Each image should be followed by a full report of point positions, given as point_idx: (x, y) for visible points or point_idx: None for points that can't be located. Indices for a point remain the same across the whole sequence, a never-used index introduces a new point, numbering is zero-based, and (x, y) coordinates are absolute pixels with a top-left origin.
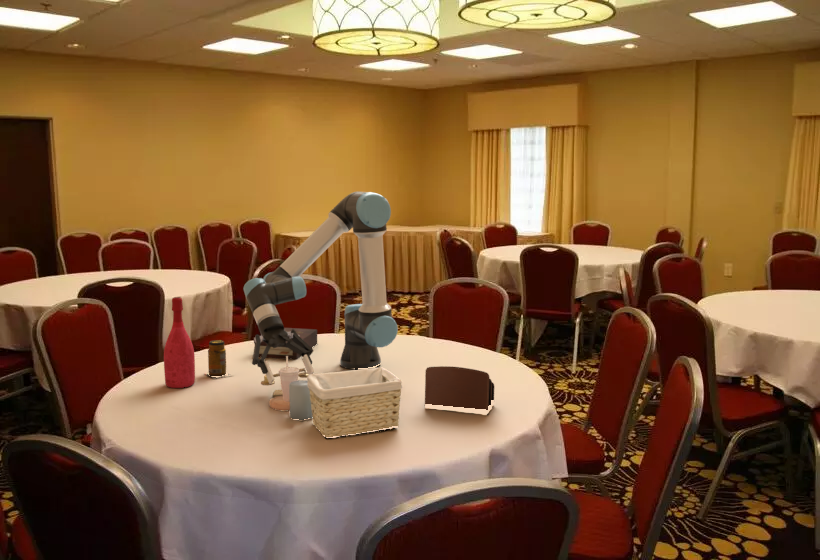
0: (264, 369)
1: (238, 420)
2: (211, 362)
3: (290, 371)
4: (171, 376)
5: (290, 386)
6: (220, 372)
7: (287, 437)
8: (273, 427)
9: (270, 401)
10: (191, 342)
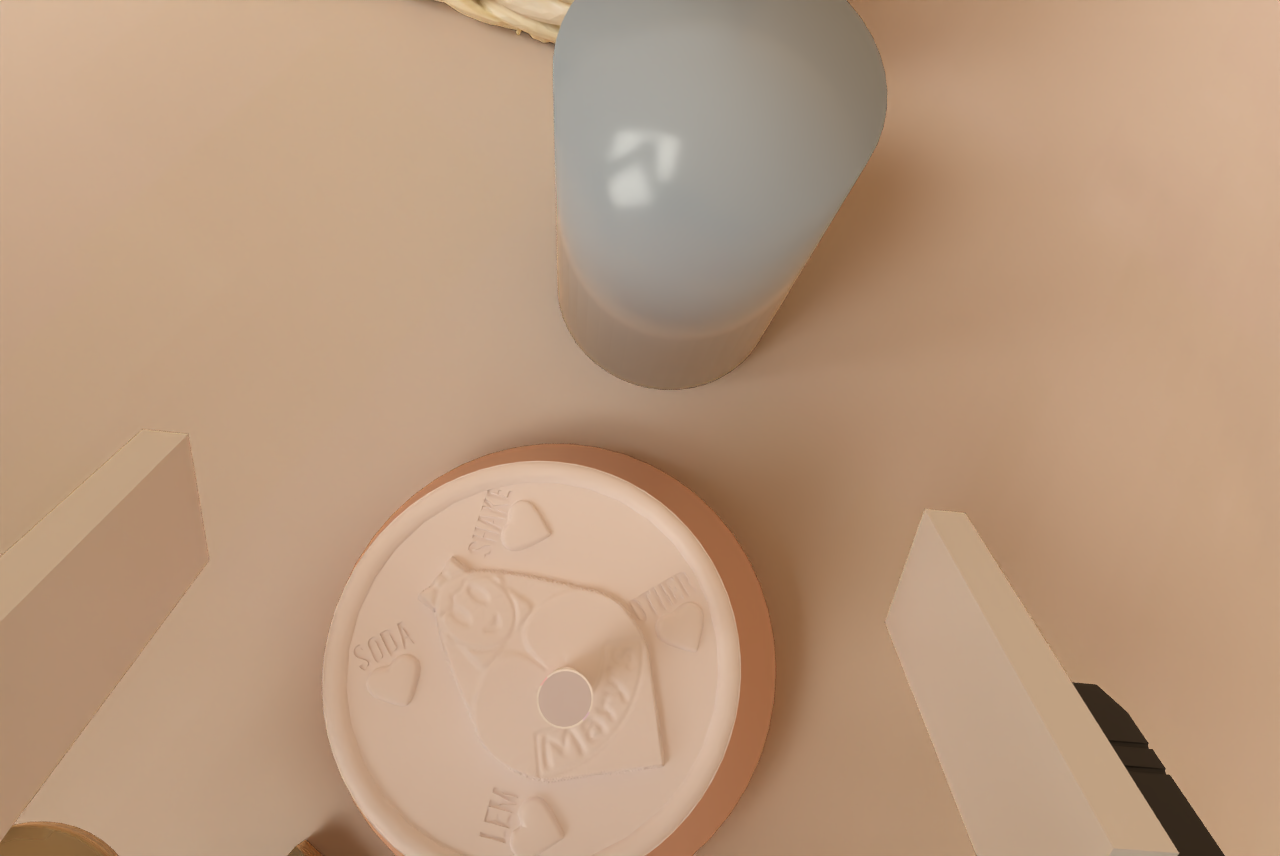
0: (1115, 728)
1: (1170, 573)
2: None
3: (578, 547)
4: None
5: (883, 105)
6: None
7: (987, 21)
8: (984, 235)
9: (734, 783)
10: None
